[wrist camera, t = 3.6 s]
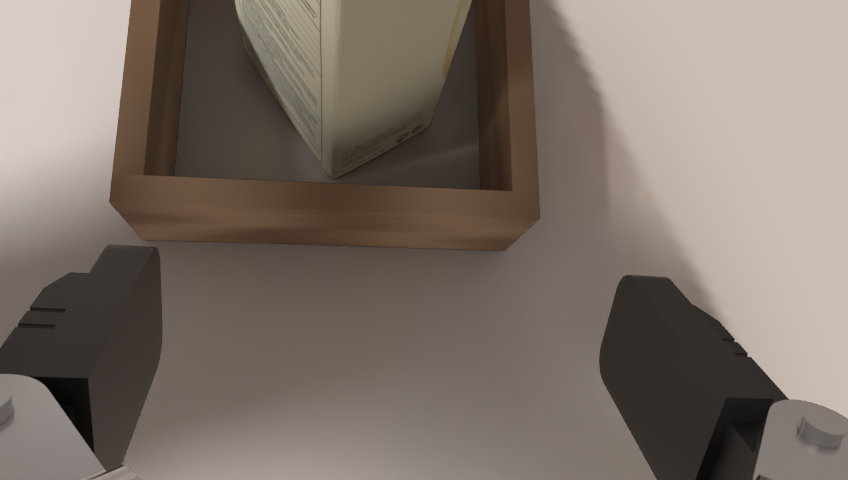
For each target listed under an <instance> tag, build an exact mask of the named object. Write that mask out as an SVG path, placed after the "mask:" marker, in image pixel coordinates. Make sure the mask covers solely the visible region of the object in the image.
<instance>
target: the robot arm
mask: <svg viewBox="0 0 848 480" xmlns="http://www.w3.org/2000/svg"><path fill="white" fill-rule="evenodd" d="M18 324H19V325H18V327H15V329H14V330H13V331H12V333H11V334H10V336H9V337H8V338H7V340H6V341H5V342H4V344H3V345H2V347H1V348H0V480H140V479H139V478H138V476H137V475H136V474H135V473H134V471H133V470H132V469H130V468H129V467H128V466H126V465H122V462H123V459H124V457H125V454H126V451H127V448H128V446H129V443H130V440H131V438H132V435H133V432H134V429H135V427H136V424H137V421H138V419H139V416H140V413H141V410H142V408H143V405H144V402H145V400H146V397H147V394H148V392H149V389H150V386H151V383H152V381H153V378H154V375H155V373H156V370H157V367H158V363H159V359H160V353H161V346H162V303H161V273H160V256H159V251H158V249H157V248H156V247H140V246H123V245H107V246H106V248H105V249H104V251H103V252H102V254H101V255H100V257H99V258H98V260H97V262H96V263H95V265H94V266H93V268H92V269H91V271H90V273H89V274H88V273H68V274H67V275H65V276H63V277H62V278H60V279H58V280H57V281H55V282H53V283H52V284H50V285H48V286H47V287H45V288H44V289H43V290H42V292H41V293H40V294H39V296H38V297H37V298H36V300H35V301H34V303H33V304H32V305H31V307H30V311H27V312H26V314H25V315H24V316H23V318H22V319H21V320H20V322H19V323H18ZM599 364H600V373H601V377H602V380H603V382H604V384H605V386H606V388H607V390H608V392H609V393H610V395H611V397H612V399H613V401H614V402H615V404H616V406H617V408H618V410H619V411H620V413H621V415H622V417H623V419H624V421H625V422H626V424H627V426H628V428H629V430H630V431H631V433H632V435H633V437H634V439H635V441H636V442H637V444H638V446H639V448H640V450H641V451H642V453H643V455H644V457H645V459H646V461H647V462H648V464H649V466H650V468H651V470H652V471H653V473H654V475H655V477H656V479H657V480H848V419H847V418H846V417H844V416H842V415H841V414H839V413H837V412H835V411H833V410H830V409H828V408H826V407H823V406H820V405H817V404H814V403H811V402H806V401H801V400H789V399H788V398H787V397H786V396H785V395H784V394H783V392H782V391H781V390H780V389H779V388H778V387H777V386H776V385H775V384H774V382H773V381H772V380H771V379H770V378H769V377H768V376H767V375H766V374H765V372H764V371H763V370H762V369H761V368H760V367H759V366H758V365H757V363H756V362H755V361H754V360H753V359H752V358H751V357H747V352H746V351H745V350H744V349H743V348H742V347H741V346H740V345H739V343H738V342H734V338H733V337H732V336H731V334H730V333H729V332H728V331H727V330H726V329H725V328H724V327H723V326H722V324H721V323H720V322H719V321H718V320H716V319H714V318H713V317H711V316H710V315H708V314H707V313H705V312H704V311H702V310H701V309H699V308H698V307H696V306H695V305H692V304H691V303H690V302H689V301H688V299H687V298H686V297H685V296H684V295H683V294H682V293H681V291H680V290H679V289H678V288H677V287H676V286H675V284H674V283H673V282H672V281H671V280H670V279H669V278H667V277H653V276H636V275H626V276H624V277H623V278H622V279H621V281H620V282H619V284H618V287H617V290H616V294H615V297H614V301H613V305H612V308H611V312H610V316H609V319H608V323H607V326H606V330H605V334H604V337H603V341H602V345H601V349H600V357H599Z"/></svg>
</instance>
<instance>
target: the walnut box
mask: <svg viewBox="0 0 848 480" xmlns="http://www.w3.org/2000/svg"><path fill="white" fill-rule="evenodd" d="M188 10H189V0H131V9H130V18H129V27H128V36H127V45H126V54H125V63H124V72H123V81H122V91H121V100H120V109H119V118H118V127H117V136H116V145H115V154H114V163H113V172H112V181H111V190H110V199H109V202H110V203H111V205H112V206H113V207H114V208H115V209H116V210H117V211H118V212H119V214H120V215H121V216H122V217H123V218H124V219H125V220H126V221H127V223H128V224H129V225H130V226H131V227H132V228H133V229H134V231H135V232H136V233H137V234H138V235H139V236H140V237H141V238H142V240H170V241H203V242H235V243H268V244H301V245H333V246H366V247H399V248H431V249H464V250H496V251H505V250H506V249H507V248H508V247H509V246H510V245H511V244H513V243H514V242H515V241H516V240H517V239H518V238H519V237H520V236H521V235H522V234H523V233H525V232H526V231H527V230H528V229H529V228H530V227H531V226H532V225H533V224H534V223H535V222H537V221H538V220H539V219H540V207H539V187H538V167H537V147H536V128H535V108H534V88H533V68H532V48H531V28H530V9H529V0H475V17H476V52H477V87H478V122H479V157H480V190H473V189H450V188H427V187H404V186H381V185H358V184H335V183H312V182H289V181H266V180H243V179H220V178H197V177H174V171H175V159H176V148H177V136H178V125H179V113H180V102H181V90H182V79H183V67H184V56H185V44H186V33H187V21H188Z"/></svg>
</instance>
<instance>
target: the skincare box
mask: <svg viewBox="0 0 848 480" xmlns="http://www.w3.org/2000/svg"><path fill="white" fill-rule="evenodd" d="M471 3H472V0H235V5H236V10H237V15H238V20H239V26H240V31H241V36H242V41H243V46H244V48H245V50H246V51H247V53H248V55H249V56H250V58H251V60H252V61H253V63H254V65H255V66H256V68H257V70H258V71H259V73H260V74H261V76H262V78H263V79H264V81H265V82H266V84H267V85H268V87H269V89H270V90H271V92H272V93H273V95H274V96H275V98H276V100H277V101H278V103H279V104H280V106H281V107H282V108H283V110H284V111H285V113H286V114H287V116H288V117H289V119H290V120H291V122H292V123H293V125H294V126H295V128H296V129H297V131H298V132H299V134H300V135H301V137H302V138H303V140H304V141H305V143H306V144H307V145H308V147H309V148H310V150H311V151H312V152H313V154H314V155H315V157H316V158H317V159H318V161H319V162H320V164H321V165H322V166H323V168H324V169H325V171H326V172H327V174H328V175H329V176H330V177H331V178H333V179H334V178H337V177H339V176H341V175H343V174H345V173H347V172H349V171H351V170H353V169H354V168H356V167H358V166H360V165H362V164H364V163H366V162H368V161H370V160H372V159H374V158H376V157H377V156H379V155H381V154H383V153H385V152H387V151H388V150H390V149H392V148H394V147H396V146H397V145H399V144H401V143H402V142H404V141H406V140H407V139H409V138H411V137H412V136H414V135H416V134H417V133H419V132H421V131H422V130H424V129H425V128H427V127H428V126H429V125H430V124H431V122H432V119H433V115H434V112H435V110H436V107H437V104H438V101H439V98H440V95H441V92H442V89H443V86H444V83H445V80H446V77H447V74H448V71H449V68H450V64H451V62H452V59H453V56H454V53H455V50H456V47H457V44H458V41H459V38H460V36H461V33H462V30H463V27H464V24H465V21H466V18H467V14H468V12H469V9H470V5H471Z"/></svg>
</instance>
